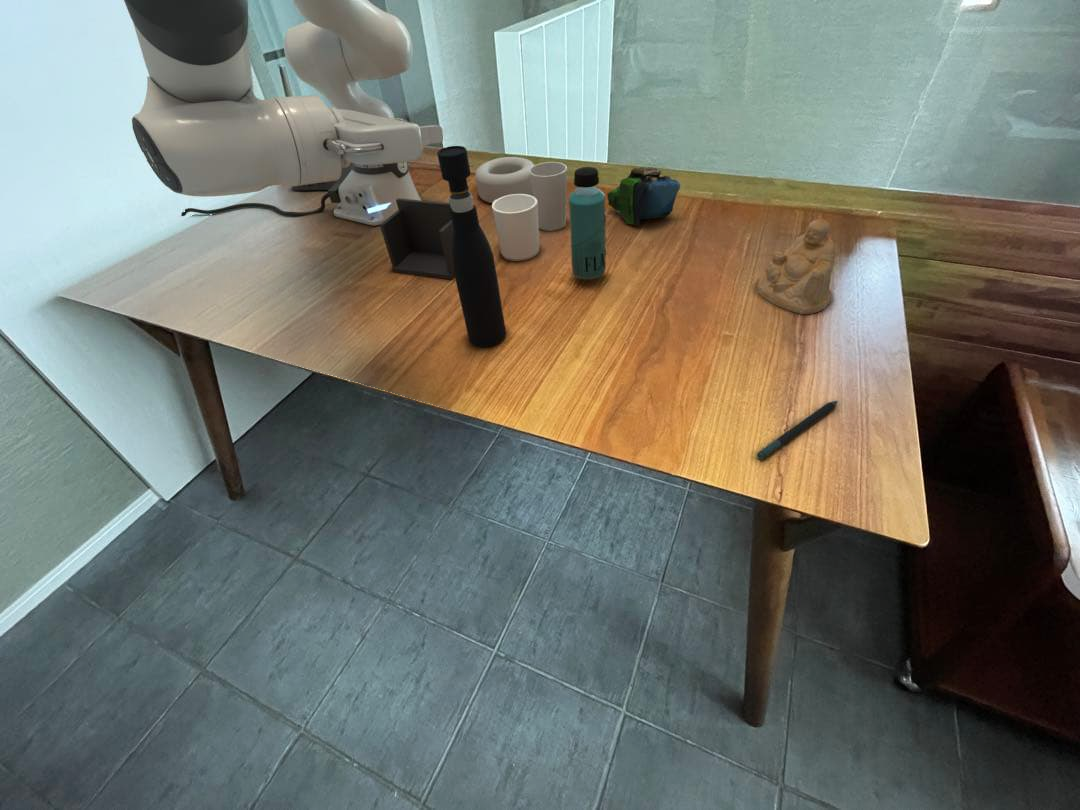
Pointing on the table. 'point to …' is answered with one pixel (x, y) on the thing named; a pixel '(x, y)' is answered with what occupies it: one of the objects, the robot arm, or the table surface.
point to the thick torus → (503, 178)
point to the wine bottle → (472, 255)
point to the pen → (796, 430)
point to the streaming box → (325, 184)
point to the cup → (550, 194)
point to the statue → (801, 272)
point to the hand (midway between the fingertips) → (422, 129)
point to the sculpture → (644, 195)
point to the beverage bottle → (587, 225)
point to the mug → (517, 226)
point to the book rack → (420, 238)
